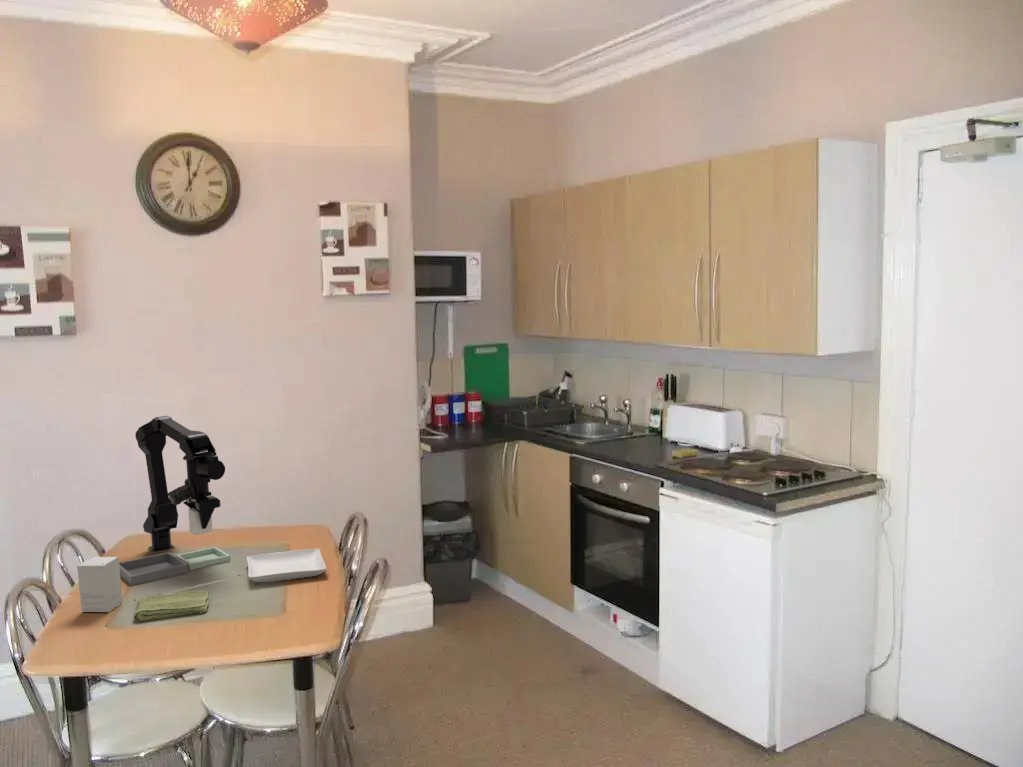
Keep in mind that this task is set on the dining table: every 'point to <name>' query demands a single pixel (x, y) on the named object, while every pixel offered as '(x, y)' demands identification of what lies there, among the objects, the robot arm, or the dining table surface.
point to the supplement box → (100, 584)
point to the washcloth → (171, 605)
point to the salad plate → (285, 565)
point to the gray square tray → (152, 568)
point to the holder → (204, 558)
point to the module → (198, 523)
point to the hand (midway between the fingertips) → (200, 526)
